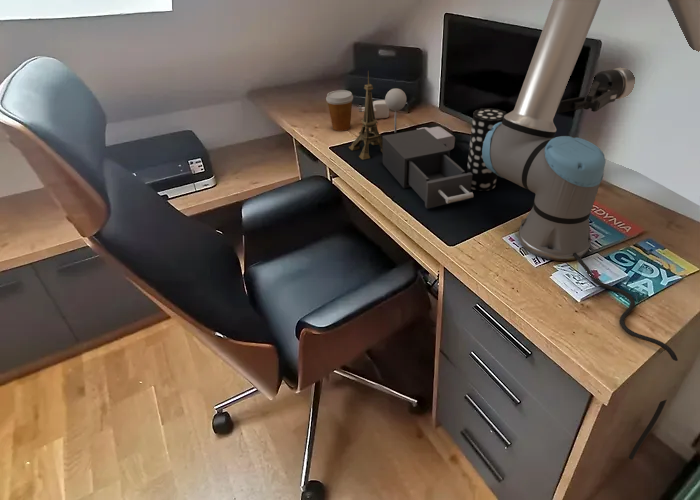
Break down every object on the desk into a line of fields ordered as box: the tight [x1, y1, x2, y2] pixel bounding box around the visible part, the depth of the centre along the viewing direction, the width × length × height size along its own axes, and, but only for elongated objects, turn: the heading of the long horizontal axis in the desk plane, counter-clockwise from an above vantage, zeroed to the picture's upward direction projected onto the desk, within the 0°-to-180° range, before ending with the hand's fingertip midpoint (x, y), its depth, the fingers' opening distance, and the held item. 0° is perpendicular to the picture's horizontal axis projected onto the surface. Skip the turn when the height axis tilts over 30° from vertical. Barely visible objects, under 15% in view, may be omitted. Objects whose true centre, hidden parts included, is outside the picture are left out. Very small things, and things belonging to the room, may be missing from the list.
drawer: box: [407, 154, 474, 209], centre depth 122 cm, size 21×12×7 cm, turn 18°
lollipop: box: [384, 87, 407, 134], centre depth 156 cm, size 7×7×15 cm
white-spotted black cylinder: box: [466, 107, 508, 192], centre depth 123 cm, size 8×8×20 cm
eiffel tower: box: [348, 71, 383, 161], centre depth 143 cm, size 11×11×25 cm
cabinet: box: [382, 128, 451, 189], centre depth 134 cm, size 17×14×9 cm
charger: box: [416, 126, 456, 151], centre depth 151 cm, size 5×9×15 cm
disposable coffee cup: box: [325, 89, 354, 132], centre depth 163 cm, size 10×10×12 cm
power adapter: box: [358, 99, 390, 120], centre depth 171 cm, size 11×5×6 cm, turn 94°
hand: (540, 98), depth 112 cm, fingers open, 13 cm apart
